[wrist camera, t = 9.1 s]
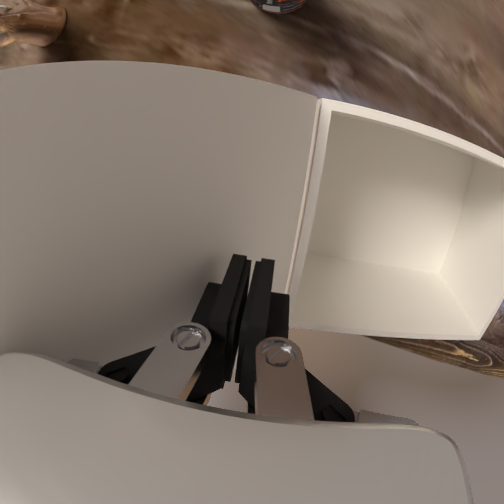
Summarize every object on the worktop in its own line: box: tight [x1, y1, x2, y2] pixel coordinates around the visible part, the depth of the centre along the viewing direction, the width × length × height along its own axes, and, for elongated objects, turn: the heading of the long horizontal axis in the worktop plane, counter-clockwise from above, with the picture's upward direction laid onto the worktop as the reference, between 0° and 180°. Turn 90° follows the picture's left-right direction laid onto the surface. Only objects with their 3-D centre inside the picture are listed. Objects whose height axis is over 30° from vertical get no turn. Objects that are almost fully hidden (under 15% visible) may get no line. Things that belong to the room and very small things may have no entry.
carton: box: [285, 98, 504, 340], centre depth 22 cm, size 20×16×12 cm
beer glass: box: [0, 0, 66, 47], centre depth 14 cm, size 7×7×15 cm
